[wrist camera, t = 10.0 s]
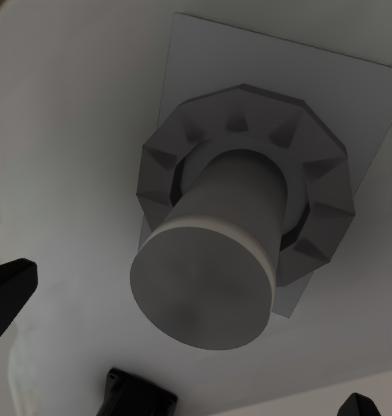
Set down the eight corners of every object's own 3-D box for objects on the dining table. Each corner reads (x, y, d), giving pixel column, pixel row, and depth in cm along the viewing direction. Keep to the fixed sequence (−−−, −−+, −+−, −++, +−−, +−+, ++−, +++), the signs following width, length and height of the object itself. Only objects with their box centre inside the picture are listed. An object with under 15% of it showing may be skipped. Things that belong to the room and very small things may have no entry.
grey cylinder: (271, 242, 18) (246, 370, 11) (191, 213, 19) (122, 318, 12) (303, 165, 16) (295, 268, 9) (210, 135, 16) (137, 211, 10)
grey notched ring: (290, 306, 21) (288, 338, 19) (142, 251, 22) (125, 274, 20) (411, 71, 14) (430, 79, 11) (181, 13, 15) (160, 10, 13)
